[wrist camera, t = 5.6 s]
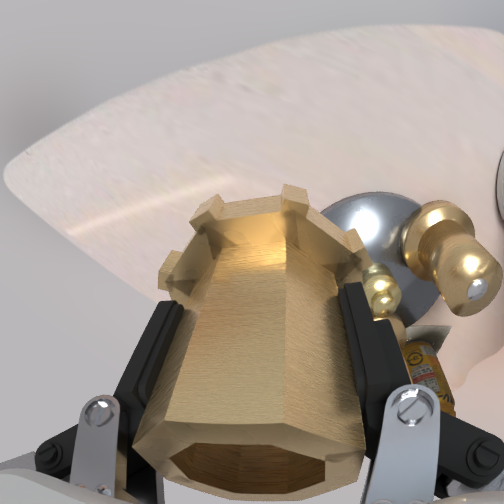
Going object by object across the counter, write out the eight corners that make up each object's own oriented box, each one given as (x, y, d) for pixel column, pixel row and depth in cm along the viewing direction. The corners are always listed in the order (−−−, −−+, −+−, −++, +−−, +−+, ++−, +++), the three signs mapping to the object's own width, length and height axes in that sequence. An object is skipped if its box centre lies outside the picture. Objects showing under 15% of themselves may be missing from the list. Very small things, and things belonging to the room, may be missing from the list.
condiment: (377, 374, 35) (395, 455, 25) (398, 325, 31) (430, 413, 21) (425, 371, 35) (450, 446, 25) (450, 324, 31) (489, 402, 20)
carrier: (464, 183, 23) (524, 226, 15) (441, 335, 32) (468, 395, 24) (274, 204, 26) (272, 261, 18) (298, 358, 35) (300, 428, 26)
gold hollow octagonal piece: (360, 174, 10) (476, 336, 3) (361, 339, 14) (390, 498, 7) (150, 205, 12) (18, 356, 5) (202, 352, 15) (163, 500, 8)
